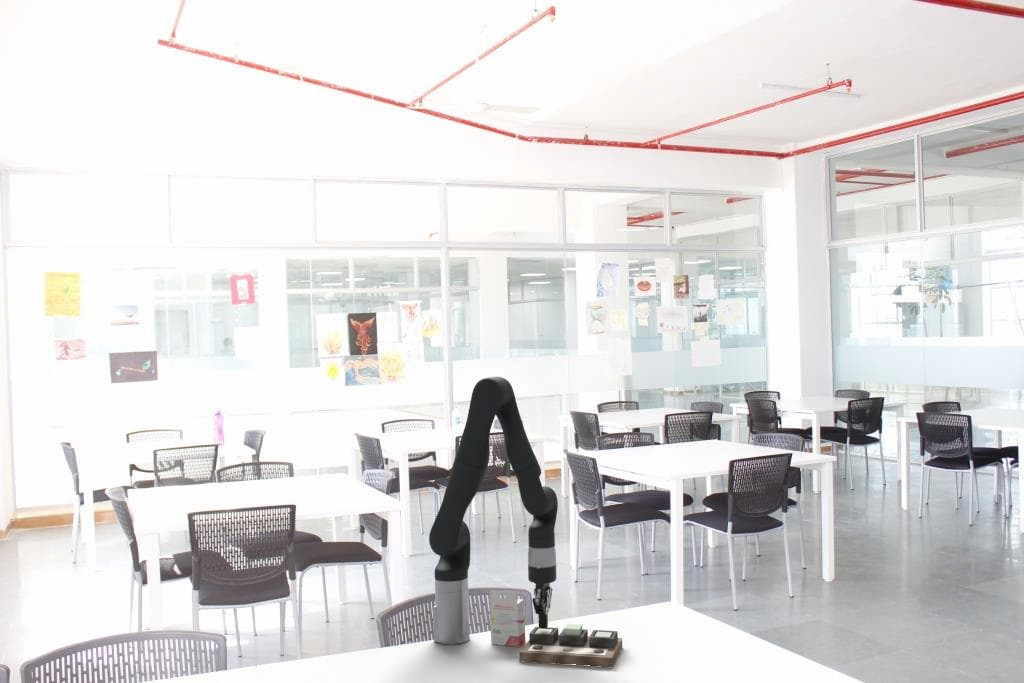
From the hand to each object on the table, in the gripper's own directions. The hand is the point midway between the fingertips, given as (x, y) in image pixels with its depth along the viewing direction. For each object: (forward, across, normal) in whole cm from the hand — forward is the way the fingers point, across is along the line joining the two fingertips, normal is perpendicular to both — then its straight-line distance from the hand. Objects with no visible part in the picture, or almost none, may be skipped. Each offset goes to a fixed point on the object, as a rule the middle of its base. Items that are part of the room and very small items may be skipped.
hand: (543, 627), depth 248 cm
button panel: (+6, +2, +8) cm, 10 cm away
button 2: (+3, 0, +16) cm, 16 cm away
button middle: (+1, 0, +8) cm, 8 cm away
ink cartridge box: (+6, -4, -11) cm, 13 cm away
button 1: (+3, 0, 0) cm, 3 cm away
